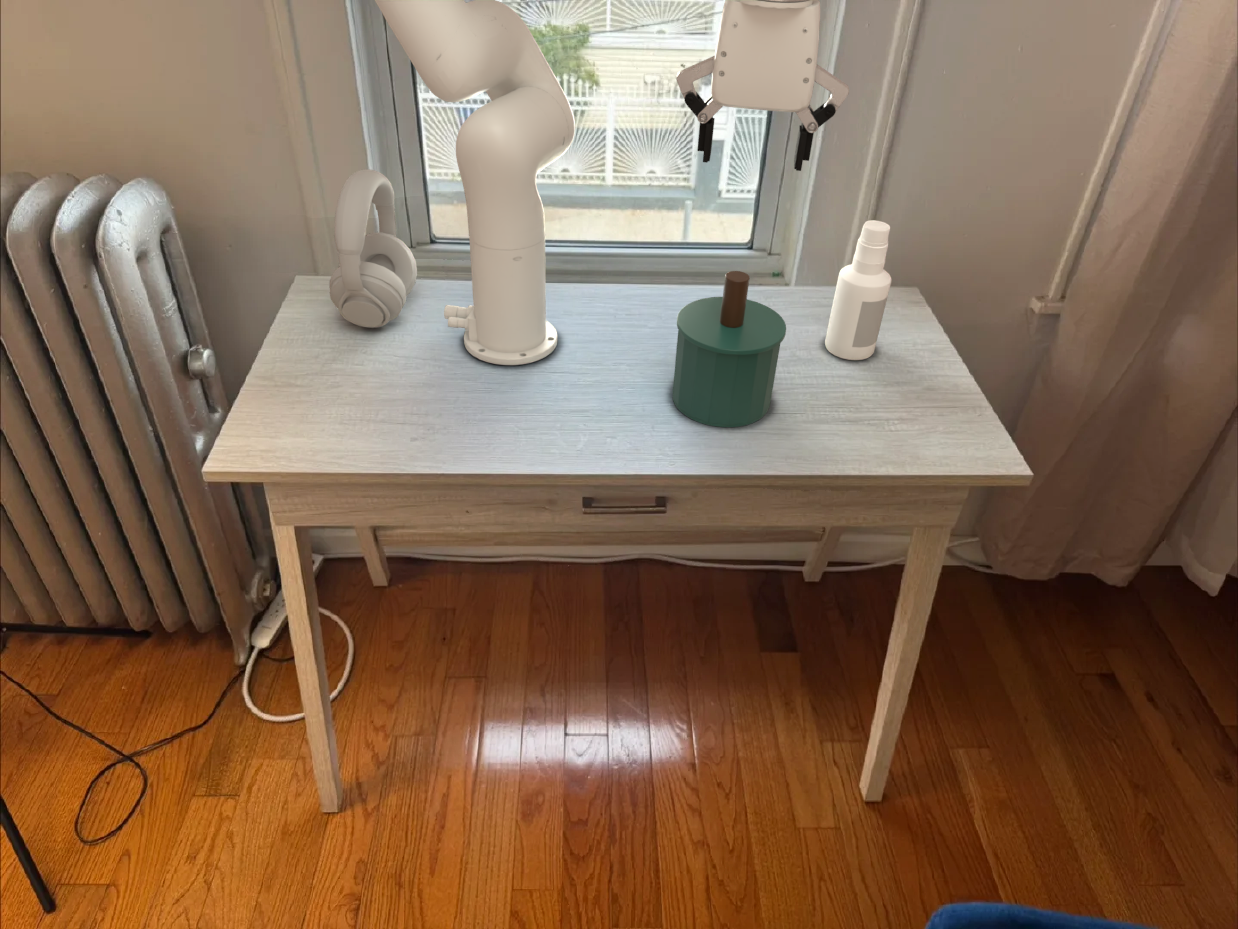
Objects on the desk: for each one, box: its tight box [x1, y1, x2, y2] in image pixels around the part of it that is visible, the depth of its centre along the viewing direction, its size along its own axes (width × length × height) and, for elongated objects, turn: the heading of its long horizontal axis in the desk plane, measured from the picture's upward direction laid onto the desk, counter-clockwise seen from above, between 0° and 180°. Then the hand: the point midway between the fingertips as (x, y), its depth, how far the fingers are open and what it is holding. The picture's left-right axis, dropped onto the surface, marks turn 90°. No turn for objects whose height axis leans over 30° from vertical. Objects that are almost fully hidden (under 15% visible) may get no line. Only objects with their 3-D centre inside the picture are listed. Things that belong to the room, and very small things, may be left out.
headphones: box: [328, 168, 418, 329], centre depth 124 cm, size 18×10×20 cm, turn 177°
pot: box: [671, 329, 781, 428], centre depth 113 cm, size 12×12×10 cm
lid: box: [676, 270, 787, 355], centre depth 108 cm, size 13×13×7 cm
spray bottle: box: [824, 219, 892, 361], centre depth 122 cm, size 7×7×18 cm
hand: (751, 162), depth 98 cm, fingers open, 9 cm apart
